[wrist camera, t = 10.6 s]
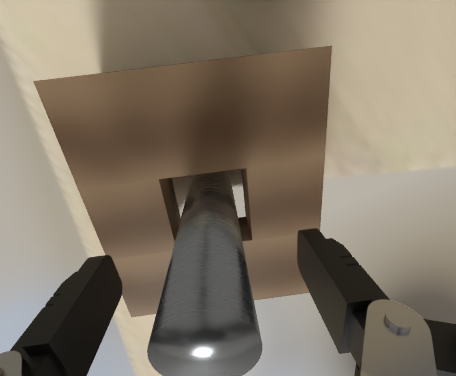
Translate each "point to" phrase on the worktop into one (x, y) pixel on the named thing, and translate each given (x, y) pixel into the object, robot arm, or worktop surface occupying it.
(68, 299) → the robot arm
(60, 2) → the worktop surface
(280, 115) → the wooden square-hole block
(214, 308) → the long pin
